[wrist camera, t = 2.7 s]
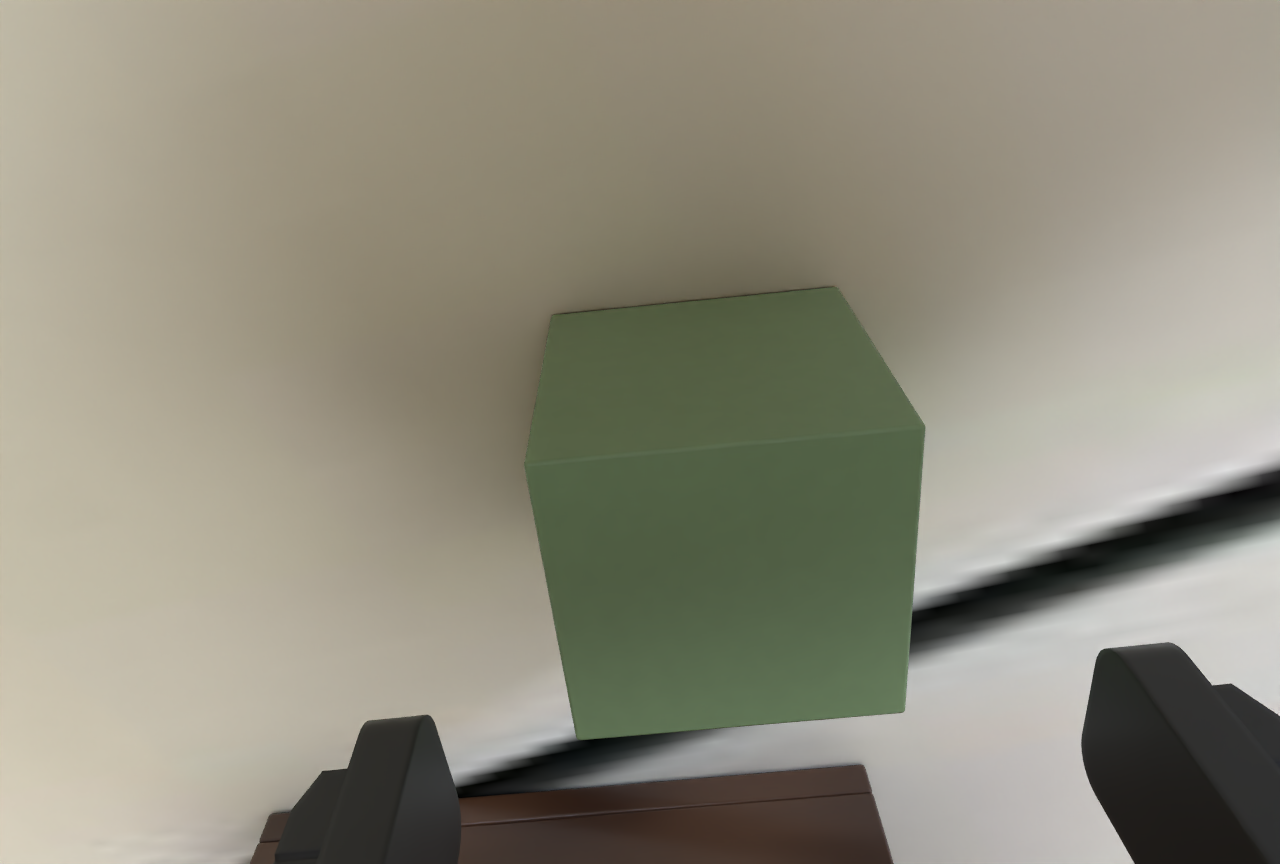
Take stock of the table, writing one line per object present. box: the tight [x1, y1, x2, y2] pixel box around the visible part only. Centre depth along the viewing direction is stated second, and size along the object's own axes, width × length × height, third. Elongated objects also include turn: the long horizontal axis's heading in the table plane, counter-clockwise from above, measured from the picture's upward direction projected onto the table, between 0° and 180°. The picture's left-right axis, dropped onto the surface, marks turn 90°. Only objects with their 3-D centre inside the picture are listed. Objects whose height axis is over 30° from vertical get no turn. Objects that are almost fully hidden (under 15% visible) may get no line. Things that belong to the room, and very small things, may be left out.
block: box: [524, 287, 925, 740], centre depth 14 cm, size 5×5×5 cm
